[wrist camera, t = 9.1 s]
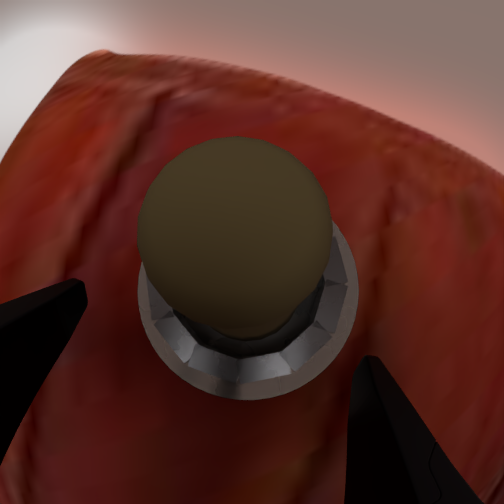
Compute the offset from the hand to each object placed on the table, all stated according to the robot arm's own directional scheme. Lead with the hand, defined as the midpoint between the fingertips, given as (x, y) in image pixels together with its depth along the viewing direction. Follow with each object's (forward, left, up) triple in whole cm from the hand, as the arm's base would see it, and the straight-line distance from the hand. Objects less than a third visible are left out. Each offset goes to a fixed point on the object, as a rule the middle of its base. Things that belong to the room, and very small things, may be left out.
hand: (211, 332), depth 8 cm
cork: (+2, -2, -8) cm, 9 cm away
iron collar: (+2, -2, -9) cm, 9 cm away
